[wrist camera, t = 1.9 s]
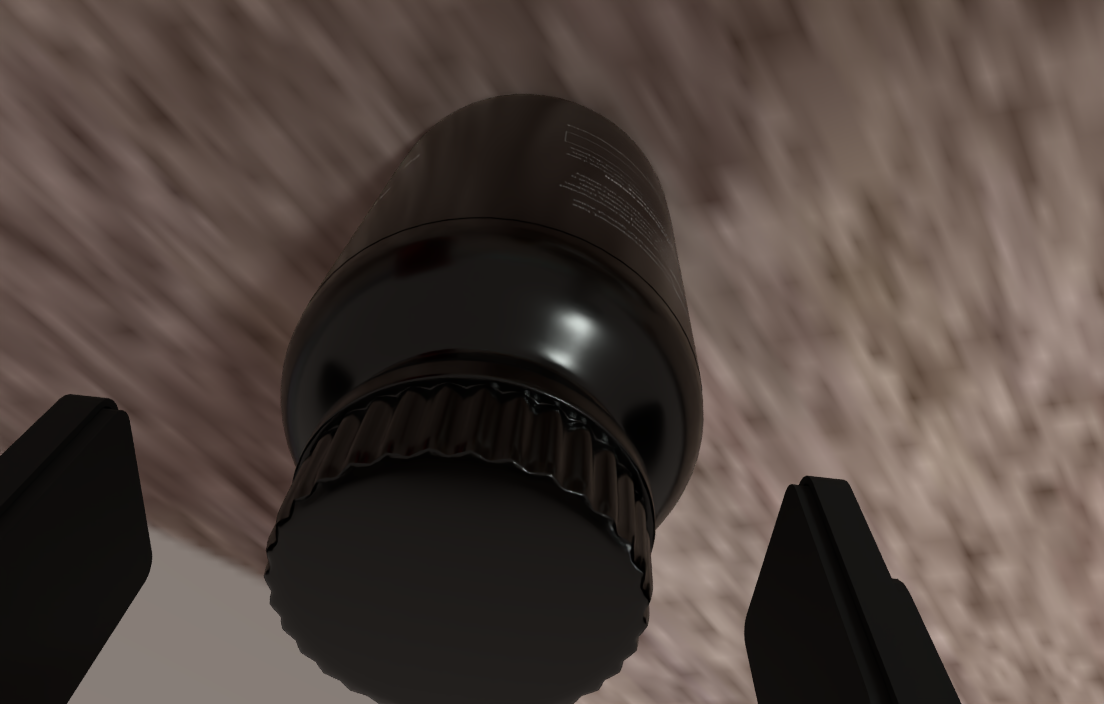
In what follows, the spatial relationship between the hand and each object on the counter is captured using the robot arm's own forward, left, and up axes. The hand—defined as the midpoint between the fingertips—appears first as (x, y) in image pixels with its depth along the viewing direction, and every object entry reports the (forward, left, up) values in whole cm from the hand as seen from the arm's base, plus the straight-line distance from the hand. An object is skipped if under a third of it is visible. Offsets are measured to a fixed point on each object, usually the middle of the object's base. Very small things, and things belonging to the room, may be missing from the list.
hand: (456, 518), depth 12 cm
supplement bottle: (0, 0, -10) cm, 10 cm away
